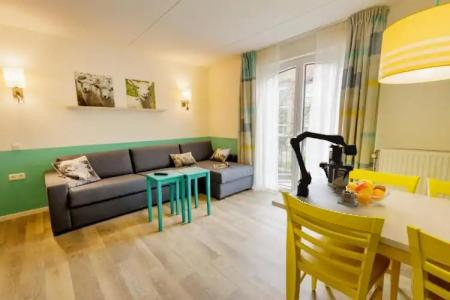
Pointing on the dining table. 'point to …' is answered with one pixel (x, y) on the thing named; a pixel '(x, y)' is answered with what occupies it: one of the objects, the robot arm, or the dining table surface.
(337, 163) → the robot arm
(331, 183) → the speaker
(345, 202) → the grey square slab
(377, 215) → the dining table surface
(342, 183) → the coffee box
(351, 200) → the open wooden cubby
